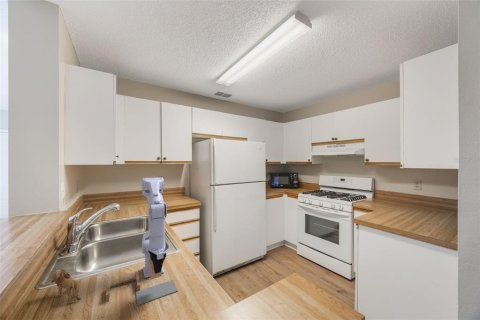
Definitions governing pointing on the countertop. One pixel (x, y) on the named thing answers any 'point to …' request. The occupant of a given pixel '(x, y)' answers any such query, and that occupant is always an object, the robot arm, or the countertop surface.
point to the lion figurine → (65, 284)
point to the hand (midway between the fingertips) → (156, 269)
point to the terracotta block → (151, 271)
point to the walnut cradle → (122, 284)
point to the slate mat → (155, 292)
